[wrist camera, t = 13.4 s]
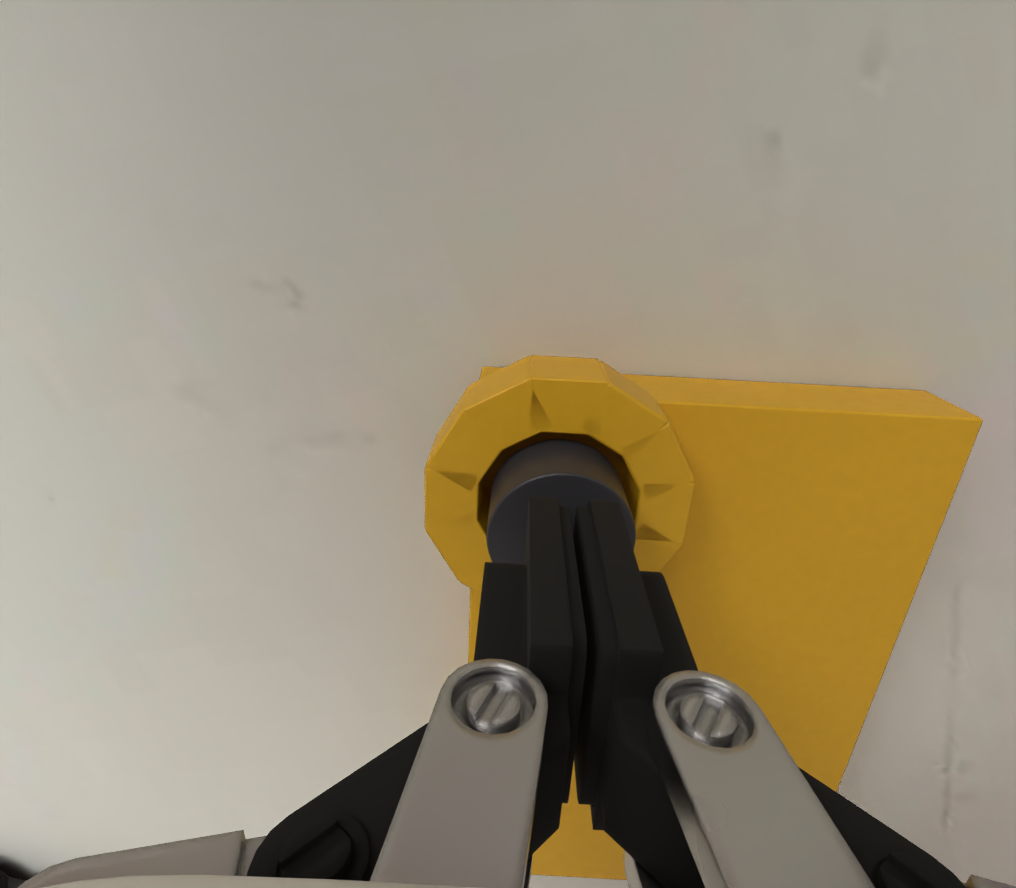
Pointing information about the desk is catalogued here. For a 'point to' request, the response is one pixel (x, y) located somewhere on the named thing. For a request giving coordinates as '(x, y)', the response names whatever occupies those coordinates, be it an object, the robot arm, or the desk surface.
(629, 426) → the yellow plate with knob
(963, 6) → the desk surface
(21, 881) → the electric trimmer
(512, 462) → the black cylindrical knob
